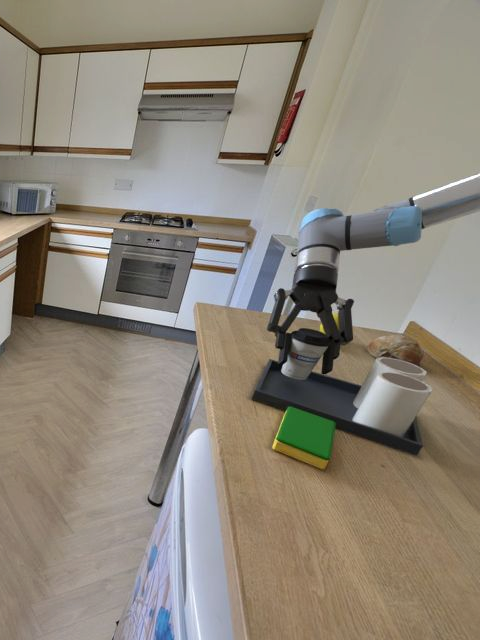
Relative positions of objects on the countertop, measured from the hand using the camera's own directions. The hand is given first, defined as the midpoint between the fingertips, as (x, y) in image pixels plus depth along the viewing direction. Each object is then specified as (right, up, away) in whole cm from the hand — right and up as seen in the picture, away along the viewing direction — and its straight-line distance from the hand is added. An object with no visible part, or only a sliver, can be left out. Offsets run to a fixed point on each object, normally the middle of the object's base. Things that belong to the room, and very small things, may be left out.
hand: (304, 367), depth 85 cm
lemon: (+31, +6, +29) cm, 43 cm away
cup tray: (+4, -7, -1) cm, 9 cm away
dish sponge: (-11, -12, -13) cm, 21 cm away
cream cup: (+11, -8, -4) cm, 14 cm away
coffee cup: (+1, -2, +4) cm, 5 cm away
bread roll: (+39, +1, +20) cm, 44 cm away
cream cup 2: (+6, -11, -9) cm, 15 cm away
